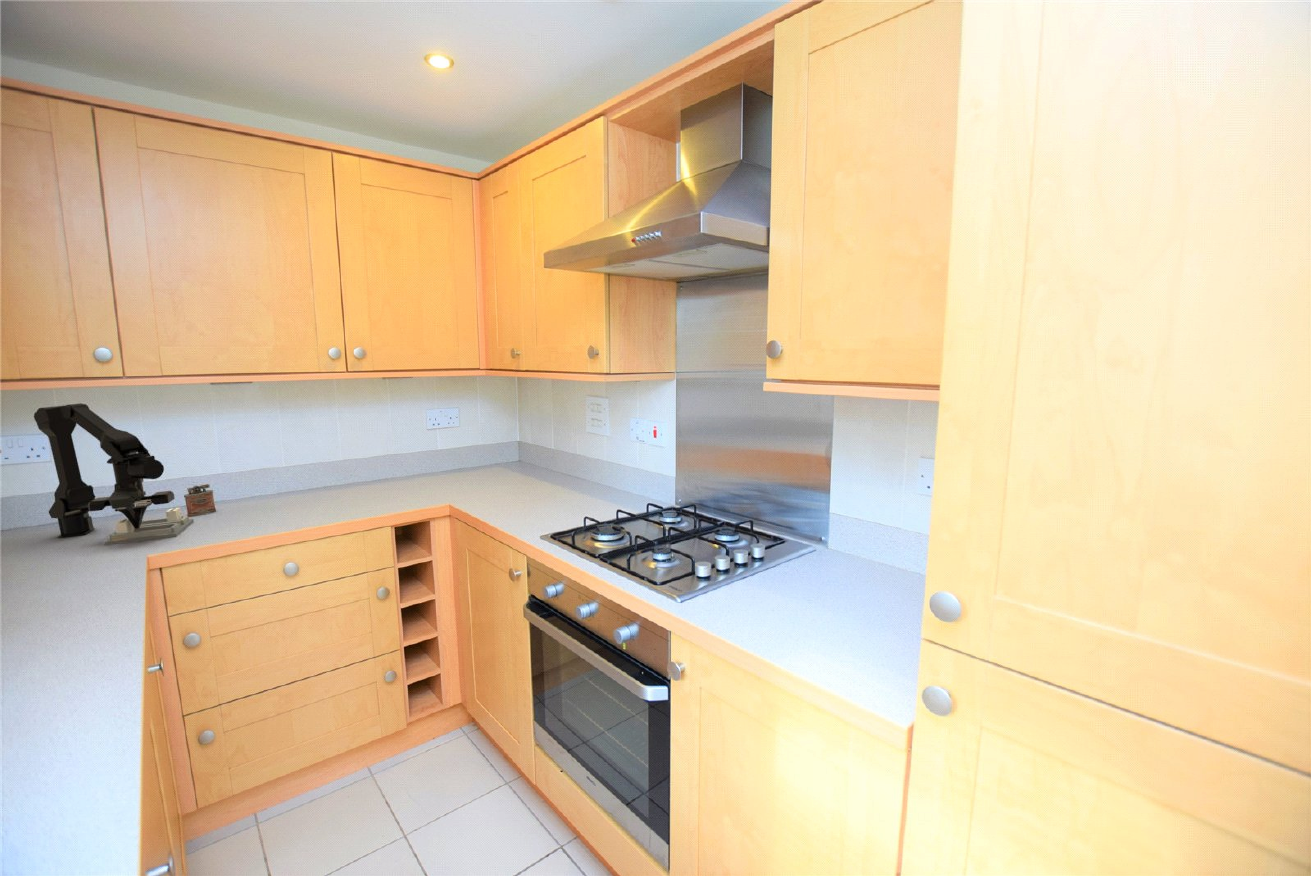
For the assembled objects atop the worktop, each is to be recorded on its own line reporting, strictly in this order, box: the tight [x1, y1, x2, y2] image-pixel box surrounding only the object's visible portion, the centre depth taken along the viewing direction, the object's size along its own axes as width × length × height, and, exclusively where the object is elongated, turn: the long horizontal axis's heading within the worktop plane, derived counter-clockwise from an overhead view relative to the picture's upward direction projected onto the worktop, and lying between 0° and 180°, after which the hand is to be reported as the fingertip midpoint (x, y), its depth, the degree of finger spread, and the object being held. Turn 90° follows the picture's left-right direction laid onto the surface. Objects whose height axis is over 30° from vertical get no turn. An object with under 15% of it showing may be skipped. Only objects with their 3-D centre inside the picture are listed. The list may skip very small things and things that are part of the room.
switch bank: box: [103, 515, 195, 546], centre depth 182 cm, size 17×16×2 cm
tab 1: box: [115, 518, 134, 534], centre depth 176 cm, size 2×4×5 cm, turn 22°
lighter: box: [183, 483, 217, 518], centre depth 200 cm, size 8×3×10 cm, turn 143°
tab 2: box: [165, 507, 183, 522], centre depth 187 cm, size 2×4×5 cm, turn 22°
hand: (137, 528), depth 177 cm, fingers closed
